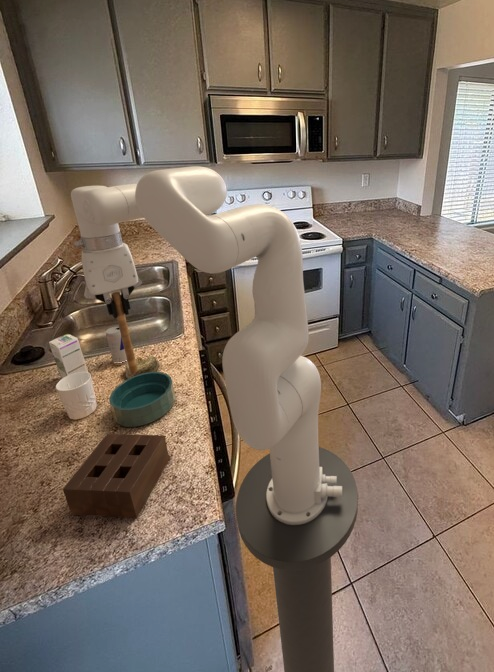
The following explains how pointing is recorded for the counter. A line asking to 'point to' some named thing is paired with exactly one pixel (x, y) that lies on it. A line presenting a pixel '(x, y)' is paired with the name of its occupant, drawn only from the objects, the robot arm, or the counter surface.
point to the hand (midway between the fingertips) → (120, 314)
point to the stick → (124, 332)
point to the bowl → (142, 399)
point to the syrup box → (68, 355)
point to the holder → (117, 476)
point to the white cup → (77, 395)
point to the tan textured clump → (143, 366)
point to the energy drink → (116, 345)
